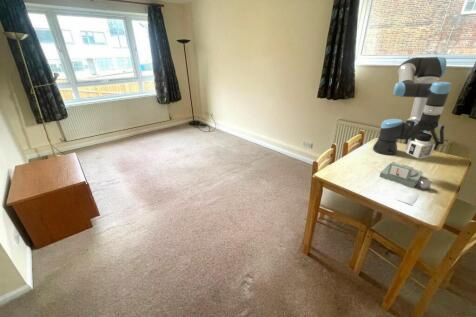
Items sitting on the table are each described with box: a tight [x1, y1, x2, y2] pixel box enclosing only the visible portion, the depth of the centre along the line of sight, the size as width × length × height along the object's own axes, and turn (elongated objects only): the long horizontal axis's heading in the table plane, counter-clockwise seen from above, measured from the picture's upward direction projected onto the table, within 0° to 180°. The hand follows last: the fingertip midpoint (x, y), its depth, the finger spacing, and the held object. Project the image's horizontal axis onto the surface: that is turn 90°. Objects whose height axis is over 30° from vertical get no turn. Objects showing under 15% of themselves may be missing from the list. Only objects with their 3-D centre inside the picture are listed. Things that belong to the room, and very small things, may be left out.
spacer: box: [416, 178, 432, 192], centre depth 121 cm, size 5×5×4 cm
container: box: [406, 132, 434, 159], centre depth 124 cm, size 8×8×13 cm
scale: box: [379, 161, 424, 188], centre depth 130 cm, size 18×17×10 cm
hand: (418, 151), depth 126 cm, fingers closed on container, 10 cm apart
